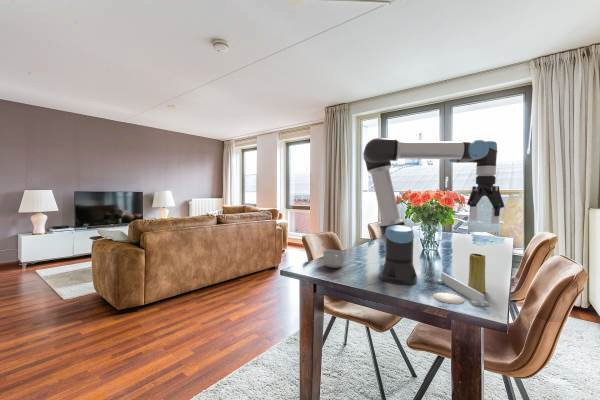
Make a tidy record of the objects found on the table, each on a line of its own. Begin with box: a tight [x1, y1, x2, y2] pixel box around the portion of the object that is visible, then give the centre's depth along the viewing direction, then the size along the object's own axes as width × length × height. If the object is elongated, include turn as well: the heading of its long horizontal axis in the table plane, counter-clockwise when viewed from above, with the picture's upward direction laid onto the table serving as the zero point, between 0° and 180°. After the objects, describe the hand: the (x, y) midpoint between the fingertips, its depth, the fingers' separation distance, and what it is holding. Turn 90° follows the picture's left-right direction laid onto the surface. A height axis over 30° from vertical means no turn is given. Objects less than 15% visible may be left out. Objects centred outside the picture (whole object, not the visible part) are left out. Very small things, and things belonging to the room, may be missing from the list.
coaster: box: [432, 292, 465, 305], centre depth 102 cm, size 10×10×1 cm
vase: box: [467, 253, 487, 294], centre depth 110 cm, size 6×6×14 cm
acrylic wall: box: [436, 272, 490, 307], centre depth 108 cm, size 5×26×4 cm, turn 2°
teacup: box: [323, 249, 345, 269], centre depth 143 cm, size 14×11×8 cm
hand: (483, 221), depth 129 cm, fingers open, 13 cm apart
